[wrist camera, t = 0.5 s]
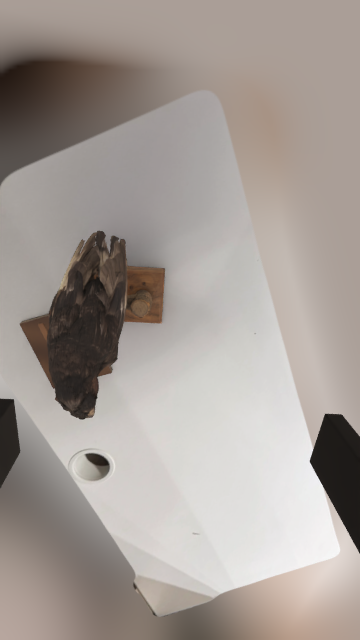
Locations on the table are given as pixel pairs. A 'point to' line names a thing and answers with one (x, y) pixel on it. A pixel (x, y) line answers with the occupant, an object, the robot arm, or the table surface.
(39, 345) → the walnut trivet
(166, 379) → the table surface
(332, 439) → the robot arm
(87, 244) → the bird figurine
